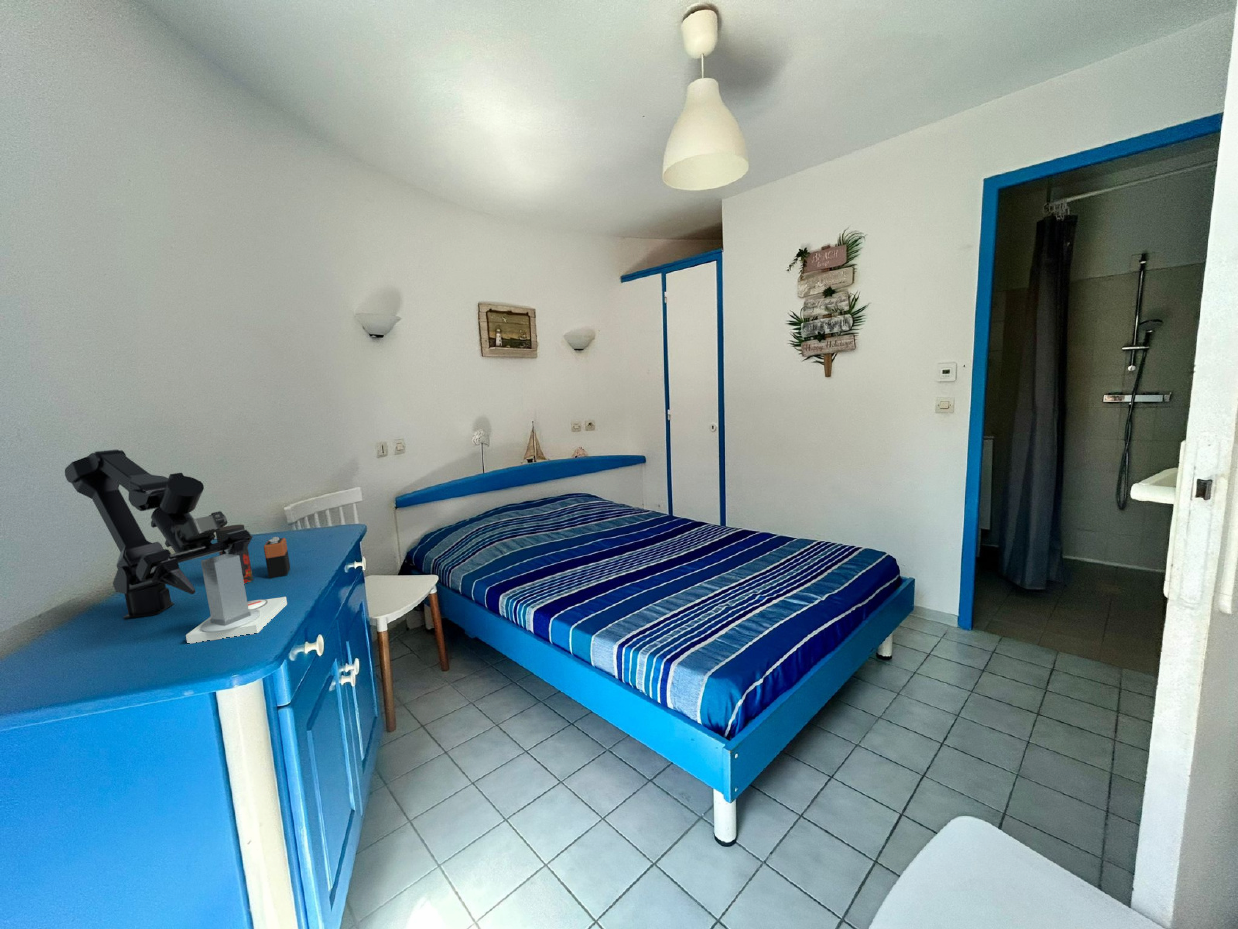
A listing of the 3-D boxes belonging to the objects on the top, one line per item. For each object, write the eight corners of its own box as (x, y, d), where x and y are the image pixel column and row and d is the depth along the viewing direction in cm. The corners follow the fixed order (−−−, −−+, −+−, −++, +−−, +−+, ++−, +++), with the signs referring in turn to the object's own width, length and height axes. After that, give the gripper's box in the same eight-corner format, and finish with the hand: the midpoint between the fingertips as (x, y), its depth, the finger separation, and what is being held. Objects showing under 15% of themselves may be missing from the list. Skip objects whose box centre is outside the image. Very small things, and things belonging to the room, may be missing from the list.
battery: (268, 579, 133) (262, 542, 131) (272, 571, 139) (266, 537, 137) (287, 575, 135) (282, 539, 133) (290, 568, 141) (285, 534, 139)
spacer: (210, 622, 101) (199, 561, 99) (236, 612, 105) (226, 553, 103) (225, 625, 99) (213, 562, 97) (250, 615, 103) (240, 555, 101)
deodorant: (231, 588, 127) (220, 531, 125) (221, 585, 130) (211, 529, 128) (257, 580, 132) (248, 525, 130) (247, 577, 135) (238, 523, 133)
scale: (184, 645, 96) (182, 634, 96) (227, 612, 111) (225, 602, 111) (255, 635, 99) (253, 624, 99) (287, 604, 114) (285, 594, 114)
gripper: (132, 513, 93) (176, 576, 90) (240, 493, 110) (280, 545, 107) (118, 551, 97) (160, 612, 94) (224, 525, 114) (262, 576, 111)
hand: (220, 584), depth 102 cm, fingers open, 9 cm apart
